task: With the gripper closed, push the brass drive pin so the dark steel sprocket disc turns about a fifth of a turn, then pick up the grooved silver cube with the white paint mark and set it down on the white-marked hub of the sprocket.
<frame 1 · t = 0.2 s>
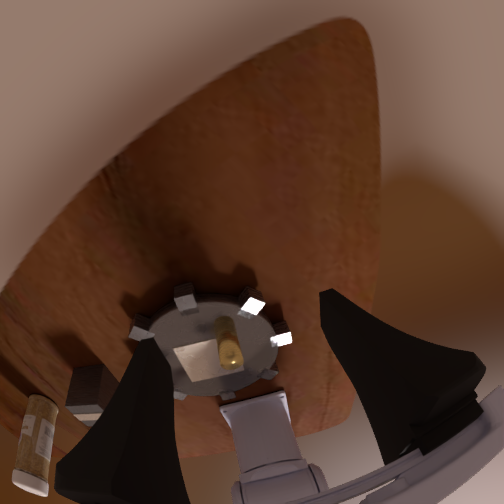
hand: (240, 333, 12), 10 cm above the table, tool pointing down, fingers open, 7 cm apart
grooved silver cube: (98, 377, 25), on the table
sprinkles bottle: (44, 401, 26), on the table
sprocket: (211, 370, 23), point 3 cm above the table, hinge at 0.0°
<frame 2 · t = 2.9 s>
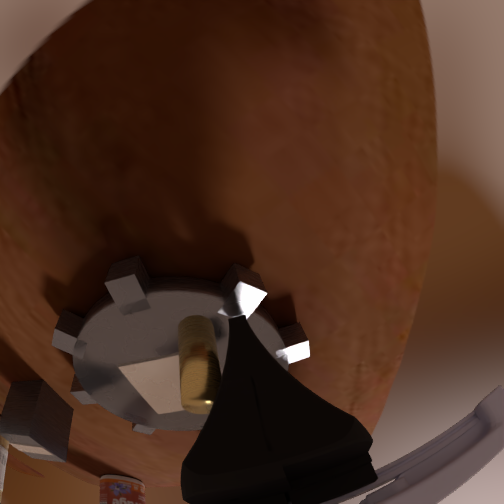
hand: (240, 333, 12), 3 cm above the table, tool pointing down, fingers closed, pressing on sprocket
grooved silver cube: (42, 396, 16), on the table
sprocket: (181, 402, 13), point 3 cm above the table, hinge at 0.1°, touching gripper
pill bottle: (121, 479, 26), on the table
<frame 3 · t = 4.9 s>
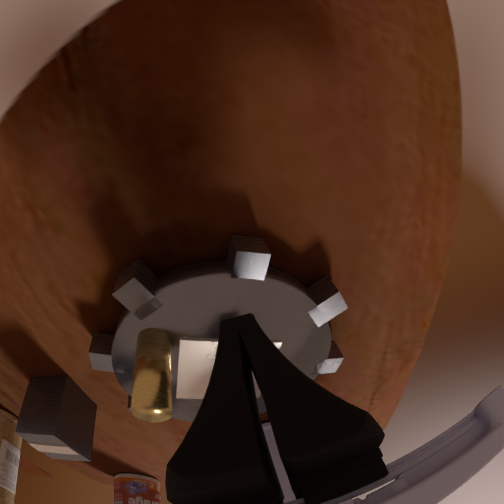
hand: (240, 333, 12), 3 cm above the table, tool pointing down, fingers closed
grooved silver cube: (63, 392, 16), on the table
sprinkles bottle: (8, 416, 17), on the table
sprocket: (228, 389, 13), point 3 cm above the table, hinge at 66.7°
pill bottle: (136, 477, 27), on the table
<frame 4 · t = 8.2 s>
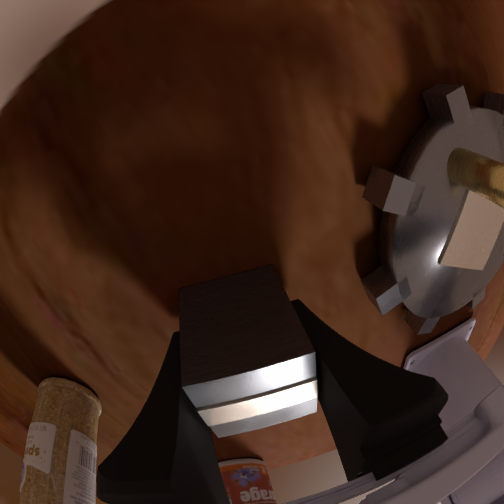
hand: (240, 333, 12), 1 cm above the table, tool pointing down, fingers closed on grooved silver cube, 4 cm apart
grooved silver cube: (235, 311, 13), on the table, touching gripper
sprinkles bottle: (71, 393, 14), on the table
sprocket: (496, 235, 10), point 3 cm above the table, hinge at 66.7°
pill bottle: (234, 465, 23), on the table
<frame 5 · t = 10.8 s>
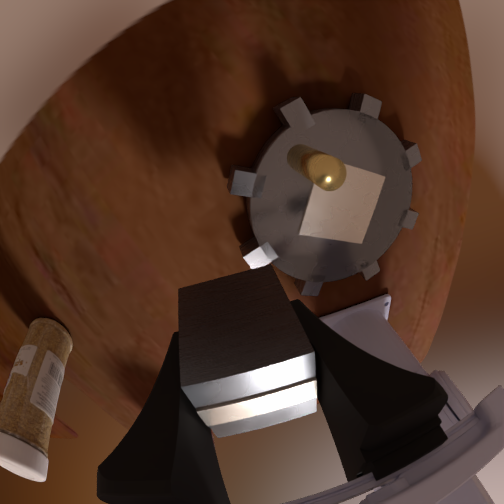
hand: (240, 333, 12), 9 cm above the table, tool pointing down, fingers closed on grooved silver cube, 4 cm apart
grooved silver cube: (234, 311, 13), point 7 cm above the table, touching gripper
sprinkles bottle: (52, 333, 20), on the table
sprocket: (352, 210, 17), point 3 cm above the table, hinge at 66.7°
when the fingers open (5 cm above the table, at t = 13.0 s): grooved silver cube stays where it is, resting on sprocket.
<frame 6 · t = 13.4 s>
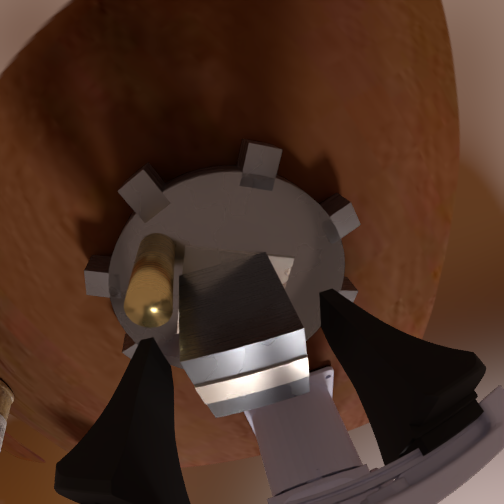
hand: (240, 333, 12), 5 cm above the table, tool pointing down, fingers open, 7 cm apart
grooved silver cube: (232, 297, 14), point 2 cm above the table, touching sprocket
sprocket: (235, 312, 13), point 3 cm above the table, hinge at 66.7°, touching grooved silver cube
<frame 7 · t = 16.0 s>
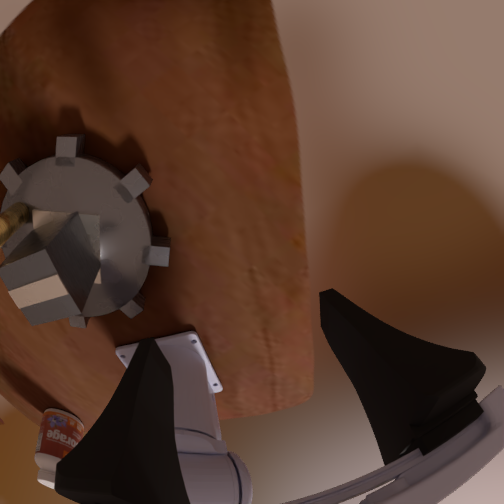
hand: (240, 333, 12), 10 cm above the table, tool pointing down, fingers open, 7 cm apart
grooved silver cube: (65, 247, 16), point 2 cm above the table, touching sprocket
sprocket: (60, 256, 15), point 3 cm above the table, hinge at 66.7°, touching grooved silver cube
pill bottle: (63, 417, 28), on the table
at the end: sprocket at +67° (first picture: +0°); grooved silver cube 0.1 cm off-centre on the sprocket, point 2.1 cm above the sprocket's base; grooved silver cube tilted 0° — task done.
